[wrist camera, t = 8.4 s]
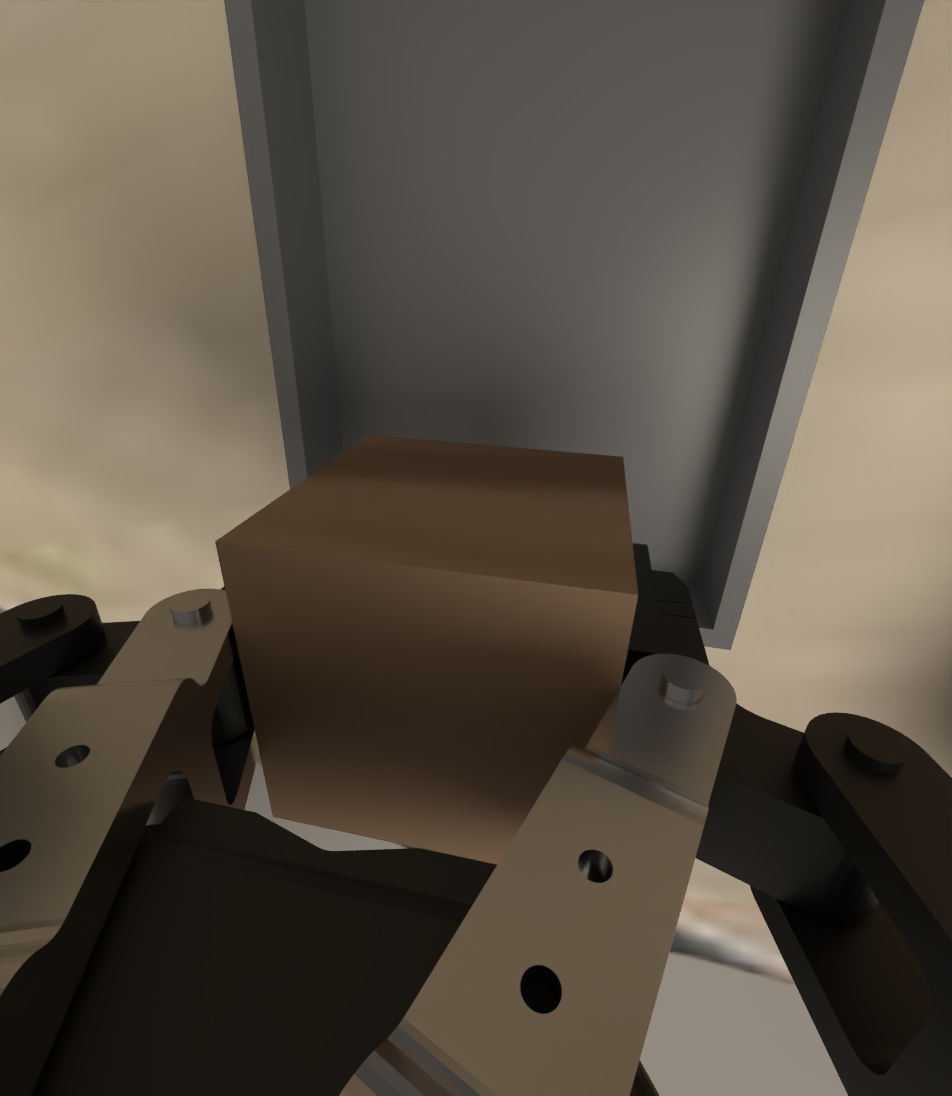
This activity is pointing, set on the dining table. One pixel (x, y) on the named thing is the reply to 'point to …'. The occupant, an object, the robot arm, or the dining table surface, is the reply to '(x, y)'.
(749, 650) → the dining table surface
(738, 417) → the charcoal tray
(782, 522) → the dining table surface
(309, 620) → the walnut block
